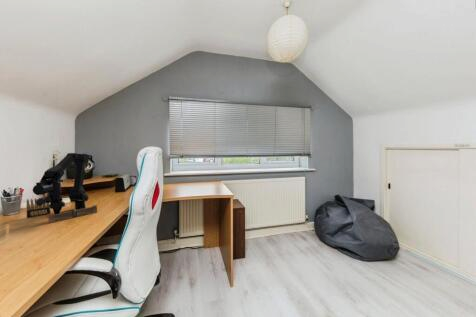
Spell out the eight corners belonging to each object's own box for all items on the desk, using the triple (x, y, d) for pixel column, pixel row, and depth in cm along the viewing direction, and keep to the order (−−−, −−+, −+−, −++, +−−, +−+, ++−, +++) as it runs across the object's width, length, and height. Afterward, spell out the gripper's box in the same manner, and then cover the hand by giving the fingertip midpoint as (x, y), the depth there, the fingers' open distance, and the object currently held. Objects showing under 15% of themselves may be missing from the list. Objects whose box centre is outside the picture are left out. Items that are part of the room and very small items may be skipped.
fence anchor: (72, 217, 121) (71, 209, 121) (96, 211, 130) (95, 204, 130) (73, 217, 120) (72, 210, 119) (97, 212, 129) (96, 205, 129)
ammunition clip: (26, 218, 121) (24, 199, 120) (27, 217, 122) (25, 199, 121) (50, 214, 127) (48, 196, 126) (50, 213, 129) (49, 196, 128)
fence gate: (48, 222, 113) (48, 214, 113) (72, 217, 121) (71, 210, 121) (49, 223, 112) (48, 215, 111) (72, 217, 120) (72, 210, 119)
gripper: (34, 190, 116) (36, 216, 117) (36, 196, 104) (38, 224, 105) (59, 187, 125) (61, 211, 126) (64, 192, 112) (66, 218, 113)
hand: (56, 216), depth 117 cm, fingers closed
